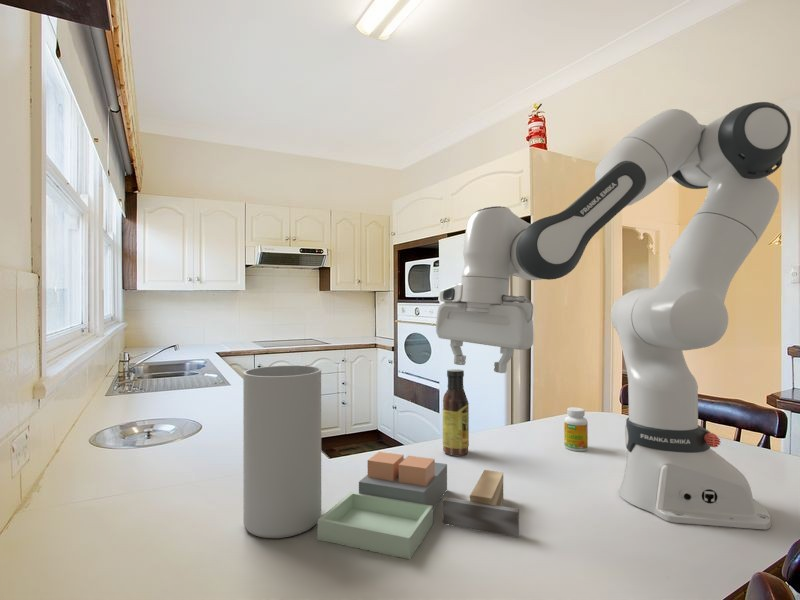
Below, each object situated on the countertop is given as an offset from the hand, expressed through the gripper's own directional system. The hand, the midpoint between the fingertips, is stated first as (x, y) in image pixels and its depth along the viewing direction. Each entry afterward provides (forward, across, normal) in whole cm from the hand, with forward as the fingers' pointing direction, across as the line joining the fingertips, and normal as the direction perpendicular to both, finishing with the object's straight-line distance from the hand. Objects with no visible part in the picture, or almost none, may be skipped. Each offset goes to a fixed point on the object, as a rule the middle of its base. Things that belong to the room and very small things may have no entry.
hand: (479, 368), depth 85 cm
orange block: (+20, +9, +13) cm, 26 cm away
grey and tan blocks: (+24, -6, +2) cm, 25 cm away
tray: (+25, +2, +21) cm, 33 cm away
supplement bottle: (+22, 0, -42) cm, 47 cm away
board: (+25, +7, +10) cm, 28 cm away
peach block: (+20, +4, +10) cm, 23 cm away
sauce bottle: (+24, +18, -17) cm, 35 cm away
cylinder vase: (+27, +15, +30) cm, 43 cm away
